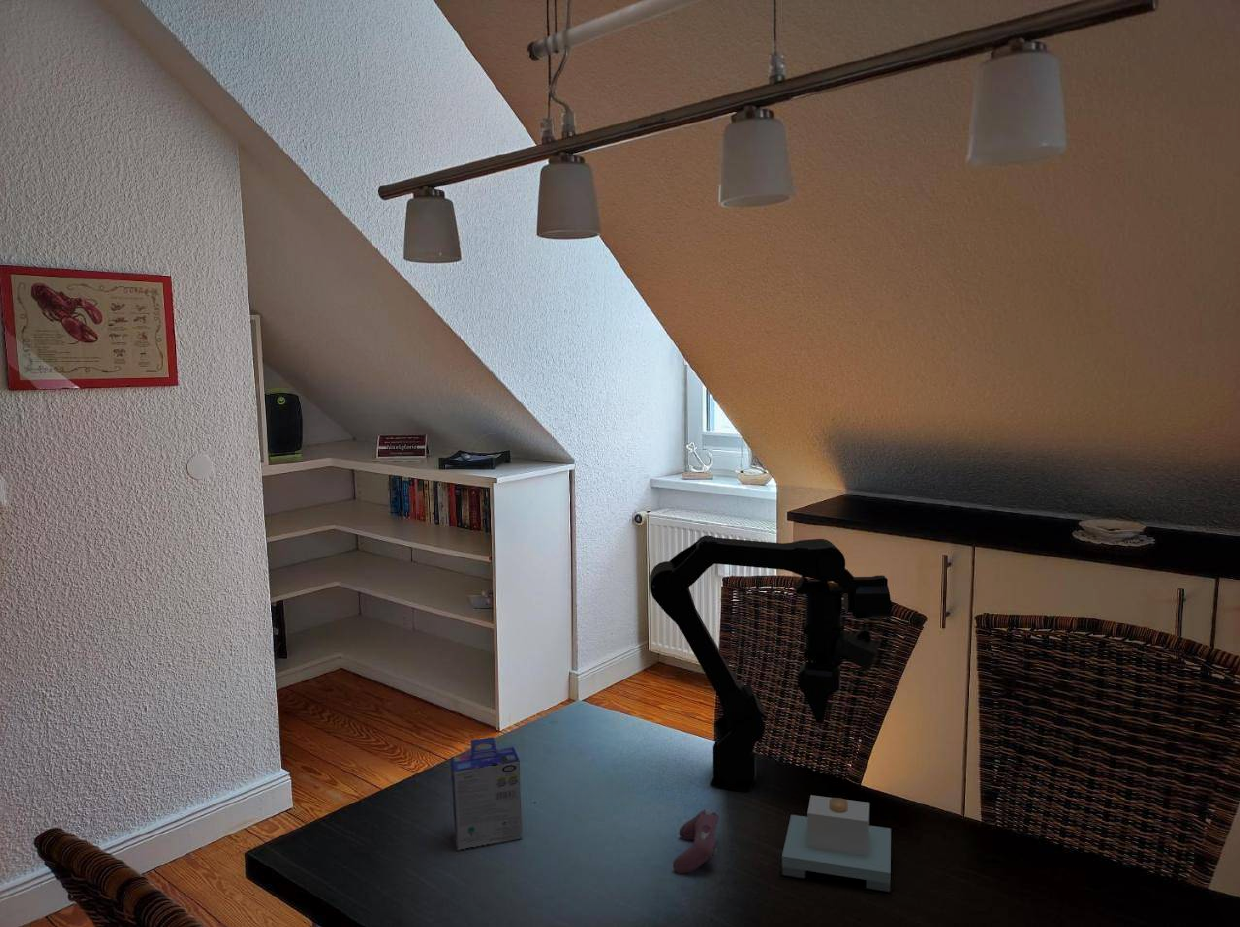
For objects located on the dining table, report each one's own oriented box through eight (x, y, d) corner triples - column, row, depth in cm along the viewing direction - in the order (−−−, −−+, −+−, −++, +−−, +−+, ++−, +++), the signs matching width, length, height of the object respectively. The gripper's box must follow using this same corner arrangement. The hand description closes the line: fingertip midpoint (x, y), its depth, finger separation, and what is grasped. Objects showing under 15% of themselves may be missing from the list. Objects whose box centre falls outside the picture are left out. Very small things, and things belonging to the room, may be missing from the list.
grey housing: (867, 856, 116) (868, 815, 116) (806, 847, 119) (807, 807, 118) (868, 836, 121) (869, 797, 120) (810, 828, 123) (810, 789, 123)
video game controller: (699, 887, 118) (722, 846, 116) (669, 871, 118) (692, 829, 117) (705, 847, 127) (726, 808, 126) (677, 831, 128) (698, 793, 126)
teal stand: (781, 876, 117) (781, 856, 117) (791, 833, 128) (791, 814, 127) (890, 894, 113) (890, 872, 113) (890, 848, 123) (891, 828, 123)
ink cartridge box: (517, 820, 133) (514, 730, 131) (524, 839, 128) (521, 745, 126) (452, 832, 130) (448, 740, 128) (457, 852, 125) (452, 756, 123)
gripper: (873, 641, 128) (872, 741, 130) (876, 605, 146) (874, 694, 148) (797, 635, 132) (797, 733, 134) (809, 601, 149) (808, 688, 151)
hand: (822, 711), depth 142 cm, fingers open, 9 cm apart
